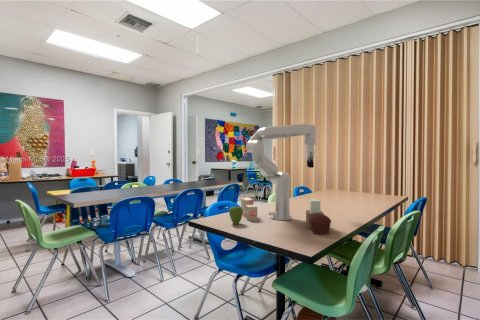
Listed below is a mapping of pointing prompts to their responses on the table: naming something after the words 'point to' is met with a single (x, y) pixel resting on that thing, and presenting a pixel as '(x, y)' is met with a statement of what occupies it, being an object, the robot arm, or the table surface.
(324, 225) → the muffin
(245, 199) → the stack of blocks
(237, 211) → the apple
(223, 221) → the table surface
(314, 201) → the sage block
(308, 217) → the riser box
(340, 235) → the table surface
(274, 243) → the table surface
